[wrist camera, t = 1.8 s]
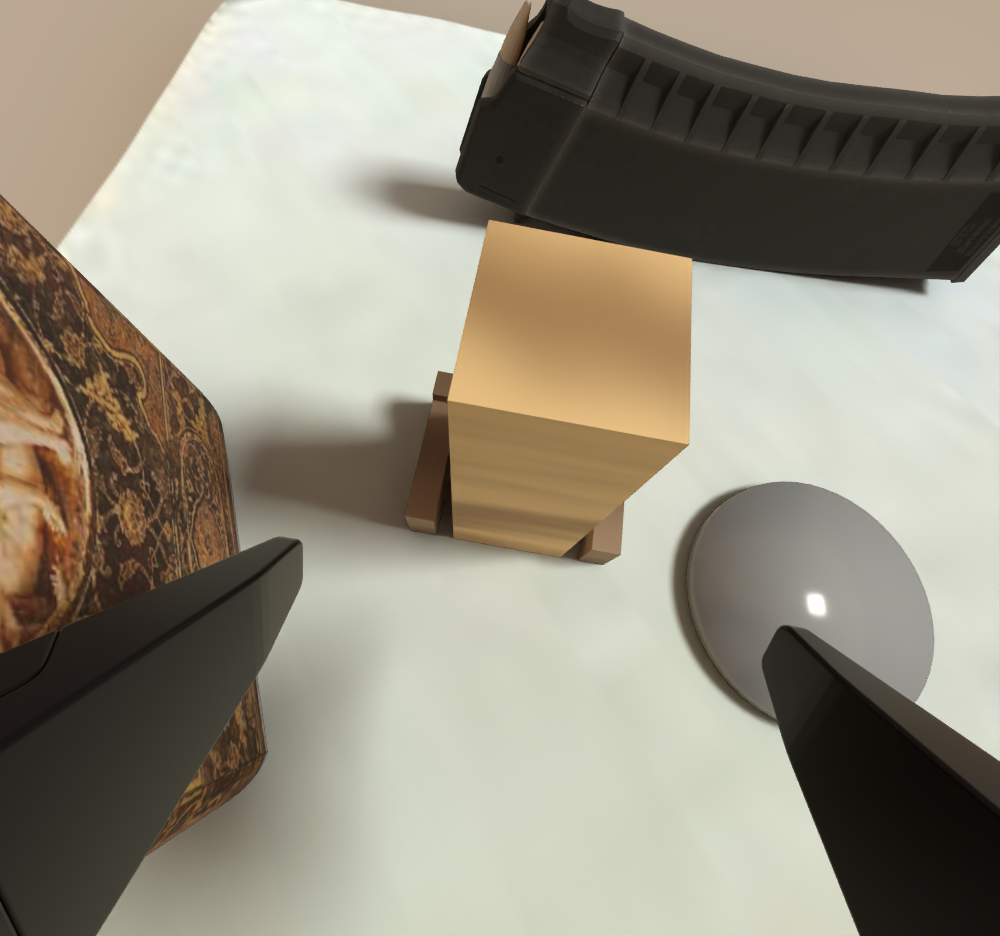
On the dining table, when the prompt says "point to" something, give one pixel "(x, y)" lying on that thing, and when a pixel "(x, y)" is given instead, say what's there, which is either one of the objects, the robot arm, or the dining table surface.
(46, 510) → the book
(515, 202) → the magazine
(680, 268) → the oak block
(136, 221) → the dining table surface
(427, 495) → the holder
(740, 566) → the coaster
